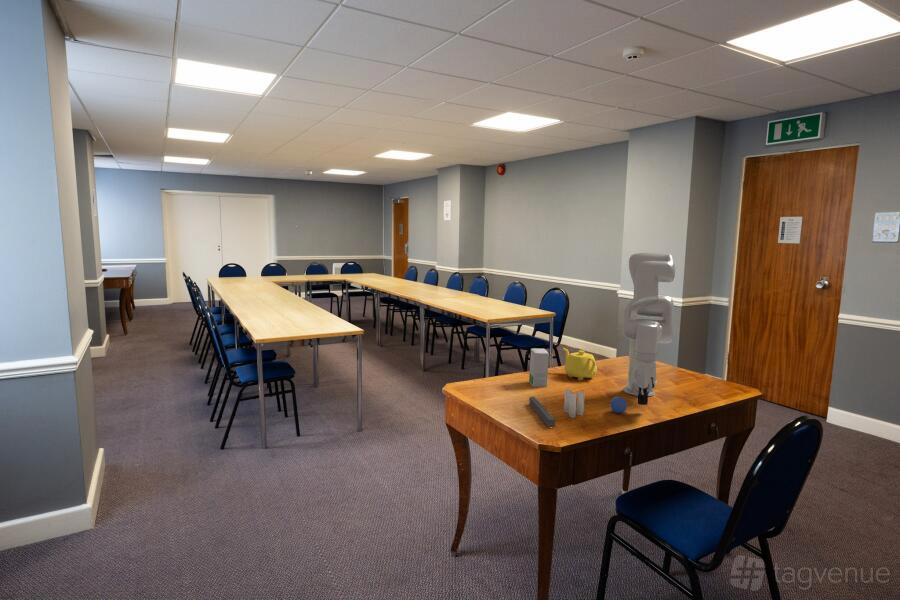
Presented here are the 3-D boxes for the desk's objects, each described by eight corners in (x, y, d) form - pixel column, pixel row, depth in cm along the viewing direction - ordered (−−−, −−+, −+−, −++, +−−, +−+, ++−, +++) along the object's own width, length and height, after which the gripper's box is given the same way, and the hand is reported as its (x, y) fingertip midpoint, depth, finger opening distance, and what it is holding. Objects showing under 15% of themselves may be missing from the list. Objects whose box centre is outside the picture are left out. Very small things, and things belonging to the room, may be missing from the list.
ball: (616, 408, 189) (617, 393, 189) (629, 413, 184) (630, 398, 184) (606, 411, 186) (607, 396, 186) (619, 416, 181) (620, 401, 180)
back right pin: (567, 410, 187) (568, 388, 186) (571, 412, 185) (572, 390, 184) (562, 411, 186) (563, 389, 185) (567, 413, 184) (568, 391, 183)
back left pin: (572, 415, 182) (573, 393, 181) (576, 417, 180) (577, 394, 179) (567, 416, 181) (568, 394, 180) (572, 418, 179) (573, 395, 178)
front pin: (579, 412, 185) (581, 390, 184) (584, 414, 183) (585, 392, 182) (575, 413, 184) (576, 391, 183) (580, 415, 182) (581, 393, 181)
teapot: (584, 384, 221) (585, 356, 219) (552, 373, 237) (553, 347, 236) (604, 379, 228) (606, 352, 226) (572, 369, 245) (573, 344, 243)
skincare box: (528, 381, 223) (530, 348, 221) (543, 381, 224) (544, 348, 222) (533, 387, 215) (534, 352, 213) (548, 387, 216) (549, 352, 214)
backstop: (534, 404, 194) (534, 396, 193) (554, 427, 170) (554, 419, 170) (529, 404, 193) (529, 396, 193) (548, 428, 170) (549, 419, 169)
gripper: (626, 352, 190) (623, 398, 192) (646, 361, 176) (643, 410, 178) (644, 352, 191) (641, 398, 193) (666, 361, 177) (662, 410, 178)
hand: (642, 404), depth 185 cm, fingers closed
